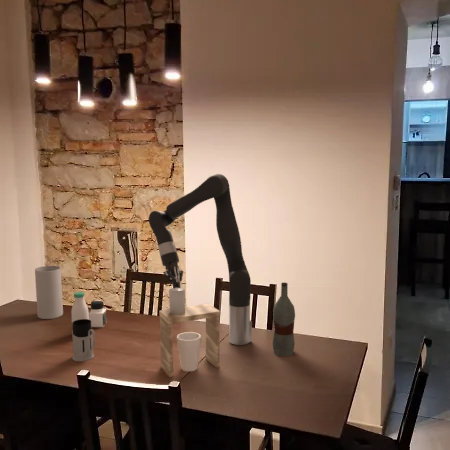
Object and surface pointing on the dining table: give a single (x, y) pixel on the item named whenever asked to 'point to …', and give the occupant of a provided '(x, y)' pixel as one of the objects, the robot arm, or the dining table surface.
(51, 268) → the cylinder vase
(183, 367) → the foam cup
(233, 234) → the robot arm
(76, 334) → the glass holder
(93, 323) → the medicine bottle
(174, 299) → the beige upright cylinder
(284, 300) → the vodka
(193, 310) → the beige hollow frame
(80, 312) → the milk bottle
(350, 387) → the dining table surface
